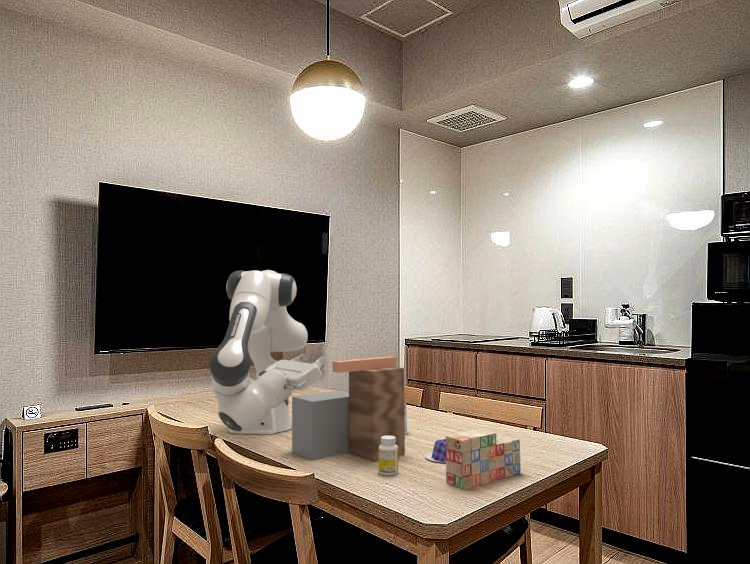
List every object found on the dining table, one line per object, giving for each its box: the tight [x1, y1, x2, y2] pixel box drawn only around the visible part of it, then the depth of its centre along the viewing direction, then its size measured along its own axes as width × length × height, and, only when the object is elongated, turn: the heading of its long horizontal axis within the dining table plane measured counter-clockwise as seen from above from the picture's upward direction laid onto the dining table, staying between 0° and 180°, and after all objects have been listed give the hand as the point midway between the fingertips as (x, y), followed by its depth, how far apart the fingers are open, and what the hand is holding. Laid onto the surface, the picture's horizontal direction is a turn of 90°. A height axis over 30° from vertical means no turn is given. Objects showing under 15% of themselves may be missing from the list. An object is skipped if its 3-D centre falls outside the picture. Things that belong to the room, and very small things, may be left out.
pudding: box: [424, 438, 446, 464], centre depth 167 cm, size 12×12×5 cm
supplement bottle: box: [378, 436, 399, 477], centre depth 153 cm, size 5×5×10 cm
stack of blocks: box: [445, 428, 522, 490], centre depth 148 cm, size 21×6×12 cm, turn 125°
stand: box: [348, 367, 406, 463], centre depth 172 cm, size 12×12×26 cm
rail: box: [332, 355, 398, 374], centre depth 170 cm, size 22×3×3 cm, turn 128°
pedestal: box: [291, 390, 349, 461], centre depth 177 cm, size 18×12×17 cm, turn 128°
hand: (314, 357), depth 159 cm, fingers open, 8 cm apart
